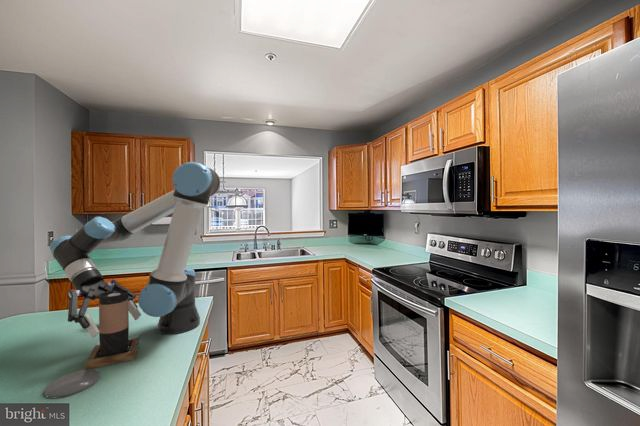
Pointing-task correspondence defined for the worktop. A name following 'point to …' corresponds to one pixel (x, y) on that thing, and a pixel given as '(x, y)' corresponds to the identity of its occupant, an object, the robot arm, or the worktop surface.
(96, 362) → the walnut frame
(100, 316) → the travel mug
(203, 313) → the worktop surface
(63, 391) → the slate coaster
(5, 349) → the worktop surface
